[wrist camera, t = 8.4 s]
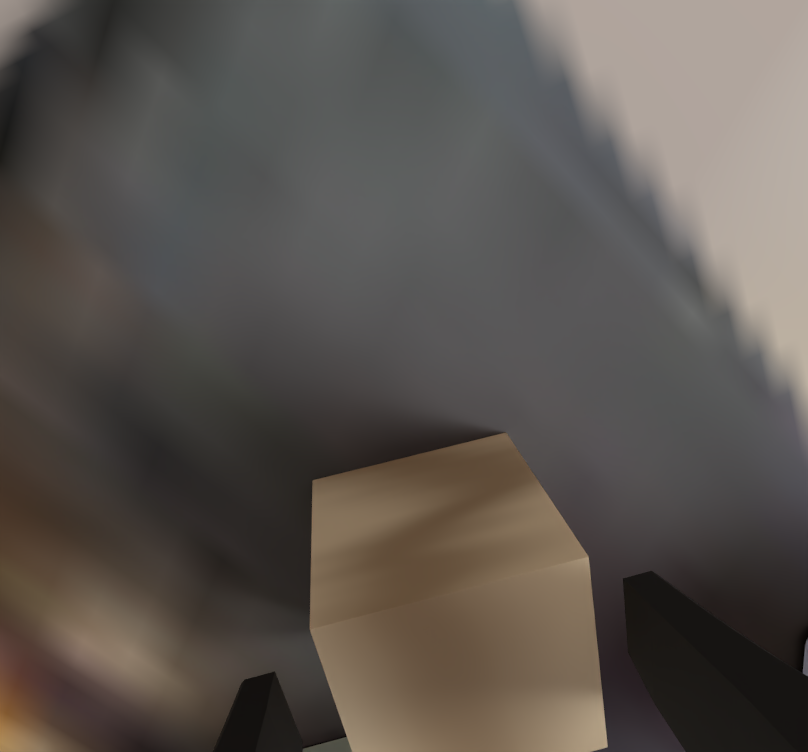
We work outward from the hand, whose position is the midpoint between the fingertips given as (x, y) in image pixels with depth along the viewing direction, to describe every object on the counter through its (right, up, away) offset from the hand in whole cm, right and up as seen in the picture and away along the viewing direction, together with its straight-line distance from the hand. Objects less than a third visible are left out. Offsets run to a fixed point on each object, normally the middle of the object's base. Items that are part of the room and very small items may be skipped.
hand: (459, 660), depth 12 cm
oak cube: (0, +1, +4) cm, 4 cm away
